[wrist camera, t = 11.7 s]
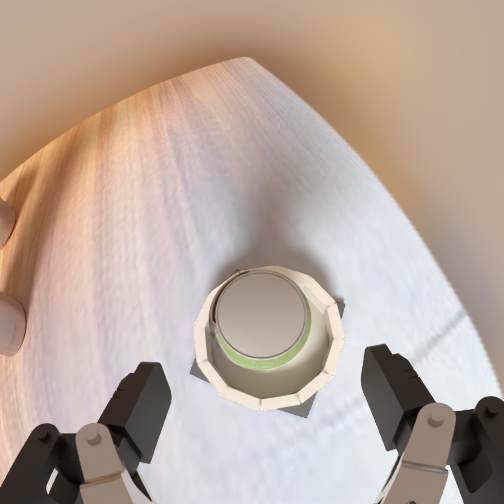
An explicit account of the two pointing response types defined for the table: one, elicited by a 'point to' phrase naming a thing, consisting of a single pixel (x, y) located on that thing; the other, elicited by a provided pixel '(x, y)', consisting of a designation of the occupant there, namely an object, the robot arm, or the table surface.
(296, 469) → the table surface
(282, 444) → the table surface
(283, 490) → the table surface
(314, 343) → the bowl
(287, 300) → the beverage can
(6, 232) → the planter
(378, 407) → the robot arm
